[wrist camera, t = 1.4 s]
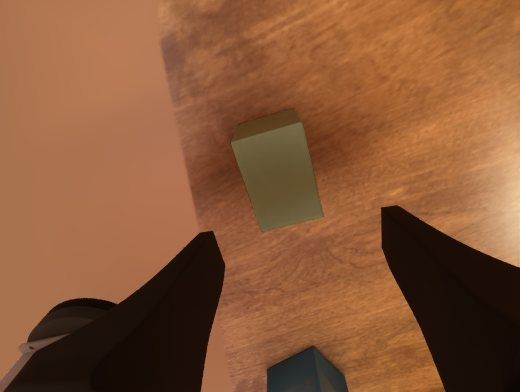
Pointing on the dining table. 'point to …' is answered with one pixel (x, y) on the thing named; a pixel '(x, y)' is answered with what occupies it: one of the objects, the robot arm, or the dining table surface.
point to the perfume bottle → (306, 374)
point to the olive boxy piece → (277, 170)
